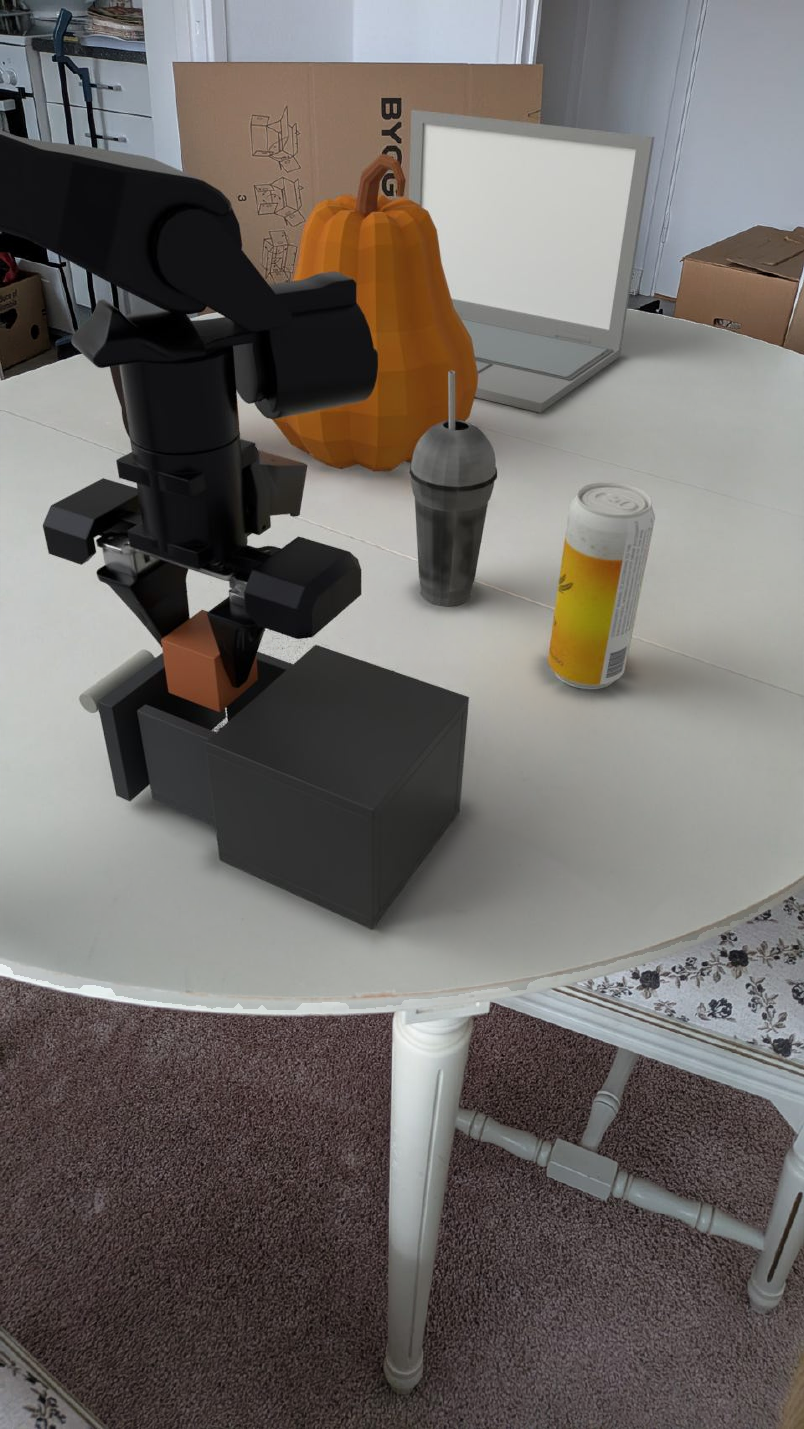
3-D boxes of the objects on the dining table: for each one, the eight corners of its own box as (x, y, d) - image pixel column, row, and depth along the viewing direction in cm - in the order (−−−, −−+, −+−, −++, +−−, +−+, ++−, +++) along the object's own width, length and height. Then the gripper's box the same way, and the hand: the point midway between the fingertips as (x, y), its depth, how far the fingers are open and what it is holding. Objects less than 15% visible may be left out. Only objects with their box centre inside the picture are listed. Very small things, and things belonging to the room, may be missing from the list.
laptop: (310, 358, 137) (303, 130, 120) (409, 313, 155) (415, 109, 138) (540, 413, 123) (569, 165, 106) (620, 357, 141) (655, 136, 124)
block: (208, 661, 65) (201, 609, 63) (258, 679, 64) (254, 627, 61) (168, 692, 62) (160, 639, 60) (220, 713, 61) (214, 658, 58)
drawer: (68, 774, 67) (45, 680, 62) (168, 695, 74) (155, 605, 69) (240, 851, 62) (229, 755, 57) (329, 757, 69) (327, 665, 64)
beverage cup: (501, 587, 90) (523, 364, 77) (461, 623, 85) (478, 391, 72) (432, 564, 93) (442, 346, 80) (389, 598, 88) (393, 370, 75)
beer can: (577, 641, 83) (605, 472, 74) (638, 672, 80) (674, 499, 70) (531, 669, 80) (553, 496, 70) (592, 703, 76) (624, 526, 67)
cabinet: (219, 860, 62) (204, 741, 56) (319, 756, 70) (315, 644, 65) (372, 929, 58) (373, 810, 52) (459, 811, 66) (469, 696, 61)
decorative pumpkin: (514, 465, 111) (544, 159, 92) (324, 511, 101) (315, 179, 82) (404, 396, 126) (411, 124, 108) (230, 430, 116) (206, 136, 98)
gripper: (413, 420, 55) (405, 654, 64) (147, 358, 62) (176, 578, 71) (300, 496, 47) (310, 750, 57) (11, 415, 54) (64, 653, 63)
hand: (212, 673), depth 62 cm, fingers closed on block, 4 cm apart
